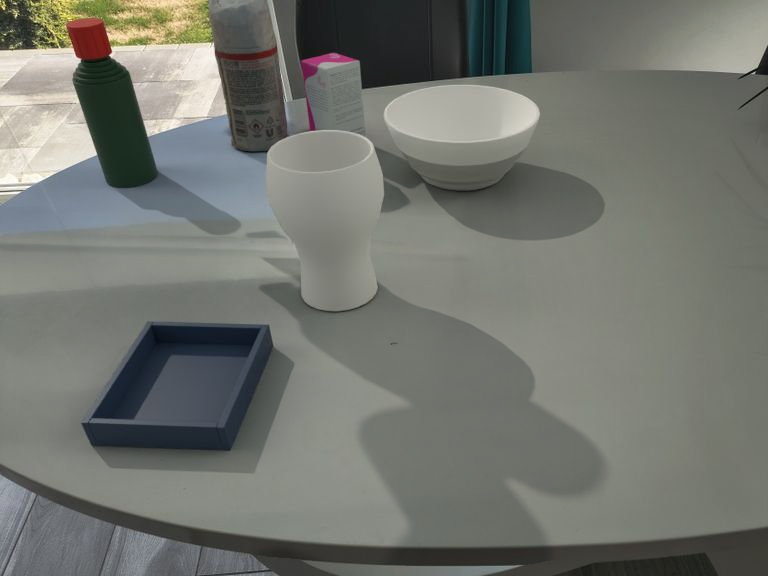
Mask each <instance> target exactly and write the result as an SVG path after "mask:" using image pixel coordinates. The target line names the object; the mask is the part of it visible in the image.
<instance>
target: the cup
mask: <svg viewBox="0 0 768 576" xmlns="http://www.w3.org/2000/svg"><path fill="white" fill-rule="evenodd" d="M265 189H266V194H267V199H268V204H269V207H270V209H271V211H272V213H273V215H274V217H275V219H276V221H277V223H278V225H279V226H280V228H281V229H282V231H283V233H284V234H285V235H286V236H287V237H288V238H289V240H290V241H291V242H292V243H293V245H294V247H295V249H296V254H297V255H298V258H299V262H300V264H301V265H300V292H301V298H302V300H303V301H304V303H306V304H307V305H308V306H309V307H312V308H314V309H316V310H321V311H325V312H343V311H349V310H353V309H356V308H359V307H360V306H364V305H365V304H367V303H369V302H370V301H371V300H373V298H374V297H375V296H376V294H377V292H378V289H379V287H378V282H377V278H376V277H377V276H376V273H375V269H374V265H373V262H372V259H371V240H372V239H371V238H372V235H373V233H374V230H375V228H376V226H377V224H378V222H379V218H380V216H381V211H382V206H383V202H384V197H385V186H384V175H383V170H382V167H381V164H380V160H379V158H378V154H377V151H376V149H375V146H374V143H373V142H372V141H370V139H369V138H368V137H367V136H366V137H364V136H362V135H360V134H356V133H352V132H347V131H340V130H319V131H310V130H309V131H305V132H300V133H295V134H293V135H289V137H287V138H284V139H282V140H280V141H278V142H277V143H276V144H274V145H273V146H272V147H271V148H270V150H267V153H266V167H265Z"/></svg>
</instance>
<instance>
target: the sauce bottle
mask: <svg viewBox="0 0 768 576" xmlns="http://www.w3.org/2000/svg"><path fill="white" fill-rule="evenodd" d="M71 80H72V84H73V87H74V90H75V93H76V96H77V100H78V102H79V105H80V108H81V111H82V114H83V118H84V120H85V122H86V126H87V130H88V132H89V135H90V137H91V140H92V144H93V146H94V149H95V153H96V156H97V158H98V161H99V165H100V167H101V170H102V173H103V176H104V179H105V182H106V184H107V185H108V186H110V187H113V188H125V189H126V188H135V187H139V186H142V185H145V184H147V183H150V182H152V181H154V180H155V179H156V178H157V177H158V176H159V175H158V174H159V172H158V171H159V170H158V168H157V164H156V160H155V157H154V154H153V150H152V146H151V143H150V140H149V137H148V132H147V129H146V126H145V122H144V119H143V115H142V111H141V108H140V105H139V101H138V97H137V94H136V90H135V88H134V83H133V80H132V76H131V73H130V71H129V70H128V69H127V66H125V65H122V64H121V62H119V61H117V60H116V59H115V58H112V56H111V55H108V56H106V57H102V58H97V59H80V61H79V63H78V64H77V67H76V68H75V71H73V73H72V79H71Z"/></svg>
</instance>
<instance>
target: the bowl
mask: <svg viewBox="0 0 768 576" xmlns="http://www.w3.org/2000/svg"><path fill="white" fill-rule="evenodd" d="M540 117H541V113H540V108H539V106H538V105H537V104H536V103H535V102H534V101H533V100H531V99H530V98H528V97H527V96H525V95H523V94H521V93H519V92H515V91H512V90H509V89H505V88H502V87H501V88H500V87H496V86H490V85H489V86H488V85H478V84H447V85H438V86H431V87H424V88H421V89H416V90H413V91H410V92H408V93H407V92H406V93H404V94H401V95H400V96H398V97H396V98H395V99H393V100H391V102H389V103H388V104H387V106H386V107H385V109H384V111H383V119H384V123H385V124H386V127H387V129H388V131H389V134H390V136H391V138H392V140H393V142H394V144H395V146H396V147H397V149H398V150H399V152H400V154H401V155H402V156H403V157H404V159H406V161H408V164H409V166H411V168H412V170H414V171H415V172H416V173H417V174H418V175H419V176H420V177H421V178H422V180H423V181H425V183H427V184H428V185H431V186H433V187H436V188H439V189H443V190H447V191H457V192H459V191H460V192H461V191H463V192H464V191H475V190H480V189H485V188H489V187H491V186H493V185H495V184H497V183H498V182H499V181H501V180H502V179H503V177H504V176H505V174H506V173H508V172H509V171H510V170H511V169H513V167H514V165H515V163H516V161H517V160H518V159H519V158H520V157H521V155H522V154H523V153H524V151H525V150H526V148H527V147H528V145H529V144H530V142H531V139H532V137H533V135H534V133H535V130H536V128H537V125H538V124H539V123H538V122H539V121H540Z"/></svg>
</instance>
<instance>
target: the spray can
mask: <svg viewBox="0 0 768 576" xmlns="http://www.w3.org/2000/svg"><path fill="white" fill-rule="evenodd" d="M208 17H209V24H210V31H211V34H212V41H213V48H214V58H215V60H216V61H215V62H216V64H217V70H218V75H219V79H220V82H221V88H222V89H221V90H222V95H223V99H224V104H225V111H226V115H227V119H228V126H229V130H230V135H231V139H230V142H231V146H232V147H234V148H236V149H238V150H241V151H245V152H247V151H248V152H266V151H267V152H268V151H269V150H270V148H271V147H272V146H273V145H274V144H276V143H277V142H278V141H280V140H282V139H284V138H287V137H289V136H290V135H289V133H288V122H287V113H286V105H285V96H284V90H283V80H282V74H281V65H280V57H279V50H278V41H277V37H276V34H275V30H274V25H273V20H272V15H271V10H270V7H269V2H268V0H208Z"/></svg>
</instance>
